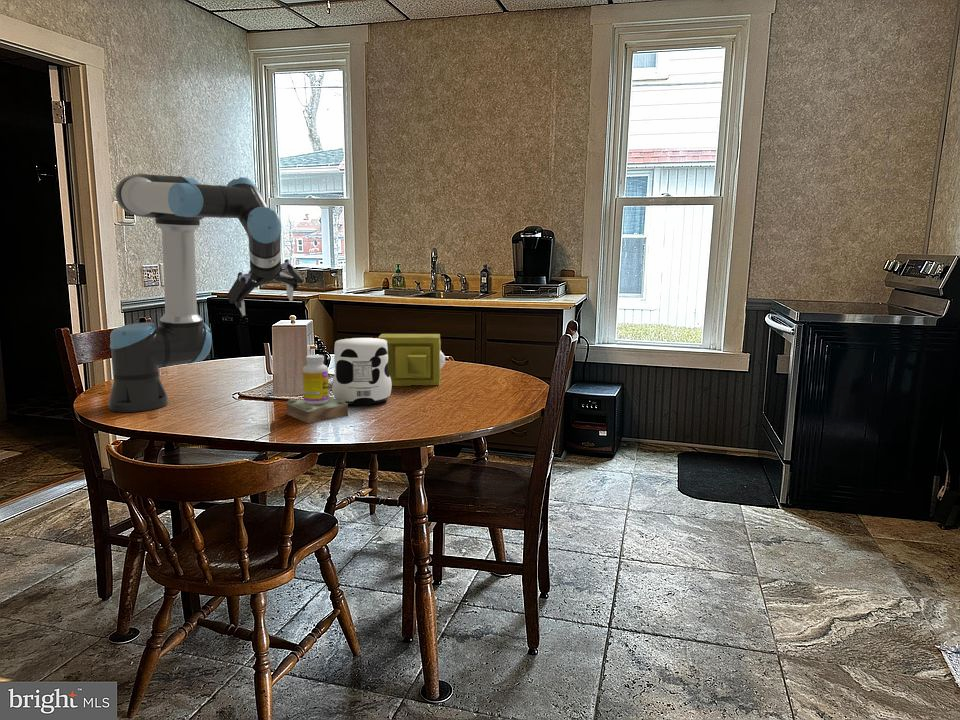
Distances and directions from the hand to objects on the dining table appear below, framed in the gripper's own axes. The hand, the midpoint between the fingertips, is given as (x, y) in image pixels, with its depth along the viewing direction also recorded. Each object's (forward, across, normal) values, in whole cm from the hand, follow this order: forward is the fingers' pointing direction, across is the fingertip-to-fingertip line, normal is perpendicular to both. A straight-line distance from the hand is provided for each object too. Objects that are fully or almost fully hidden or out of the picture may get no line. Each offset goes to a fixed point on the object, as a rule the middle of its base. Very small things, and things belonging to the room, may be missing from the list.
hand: (266, 304), depth 190 cm
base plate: (+8, +1, -34) cm, 34 cm away
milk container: (+18, +17, -31) cm, 39 cm away
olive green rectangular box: (+34, +33, -23) cm, 52 cm away
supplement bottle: (+6, +2, -31) cm, 32 cm away
